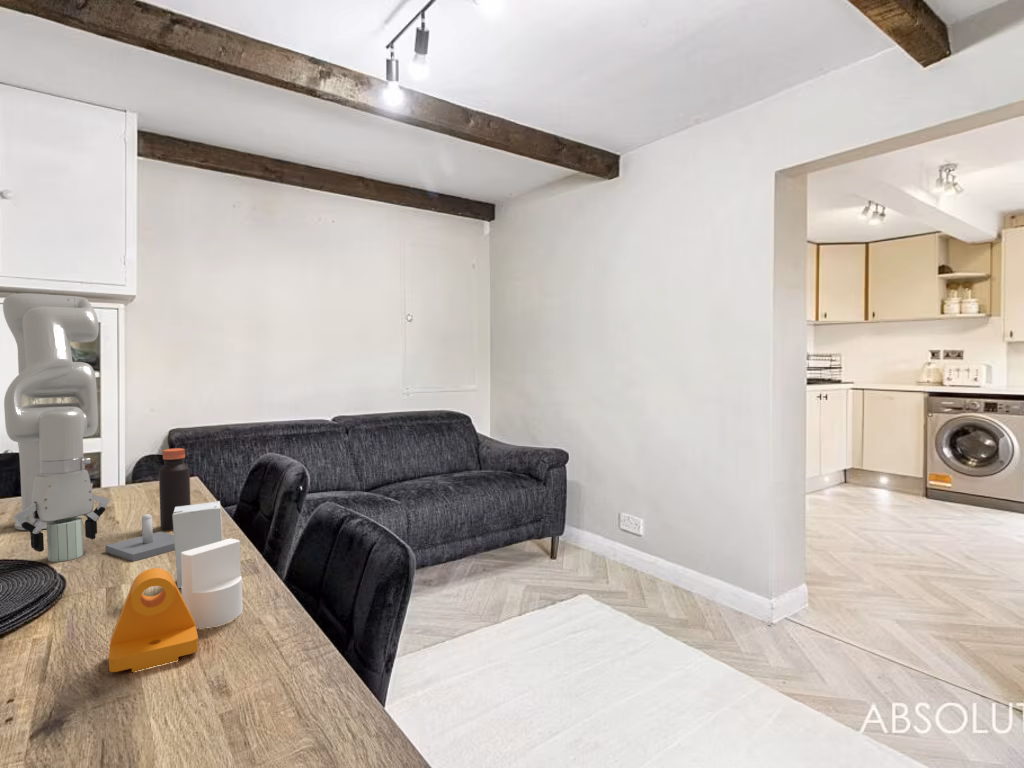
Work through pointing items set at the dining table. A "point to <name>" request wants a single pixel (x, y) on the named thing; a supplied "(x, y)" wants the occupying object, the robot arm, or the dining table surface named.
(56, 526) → the sage tube
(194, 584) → the cylinder with rectangular tab
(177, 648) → the bracket
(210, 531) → the skincare box
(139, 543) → the roll stand
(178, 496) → the bottle
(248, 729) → the dining table surface
